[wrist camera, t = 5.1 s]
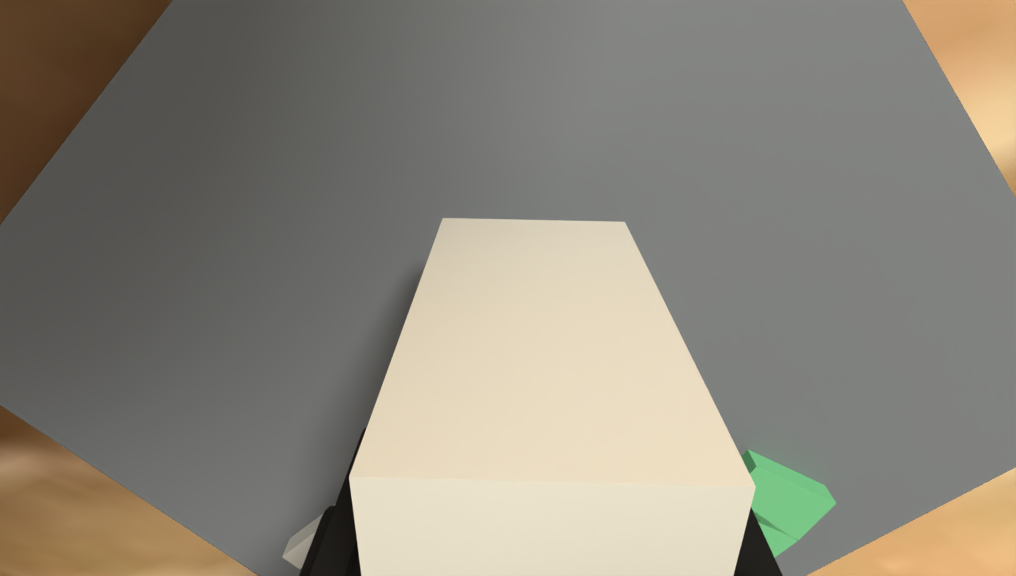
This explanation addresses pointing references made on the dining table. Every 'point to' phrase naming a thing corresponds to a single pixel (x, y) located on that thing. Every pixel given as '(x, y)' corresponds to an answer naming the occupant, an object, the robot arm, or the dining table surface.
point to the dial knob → (545, 419)
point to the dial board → (523, 196)
